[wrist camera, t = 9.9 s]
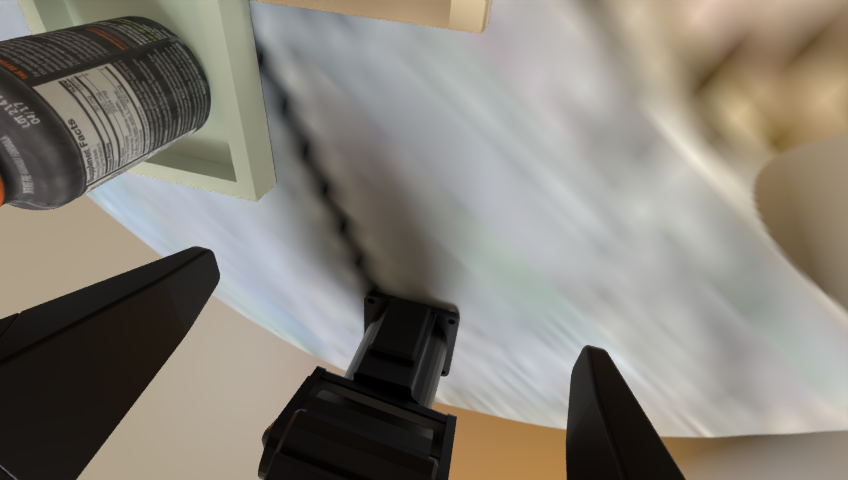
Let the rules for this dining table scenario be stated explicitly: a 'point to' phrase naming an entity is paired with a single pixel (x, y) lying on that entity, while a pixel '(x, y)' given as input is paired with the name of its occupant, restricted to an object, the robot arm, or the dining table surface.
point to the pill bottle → (92, 106)
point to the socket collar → (408, 11)
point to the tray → (228, 81)
